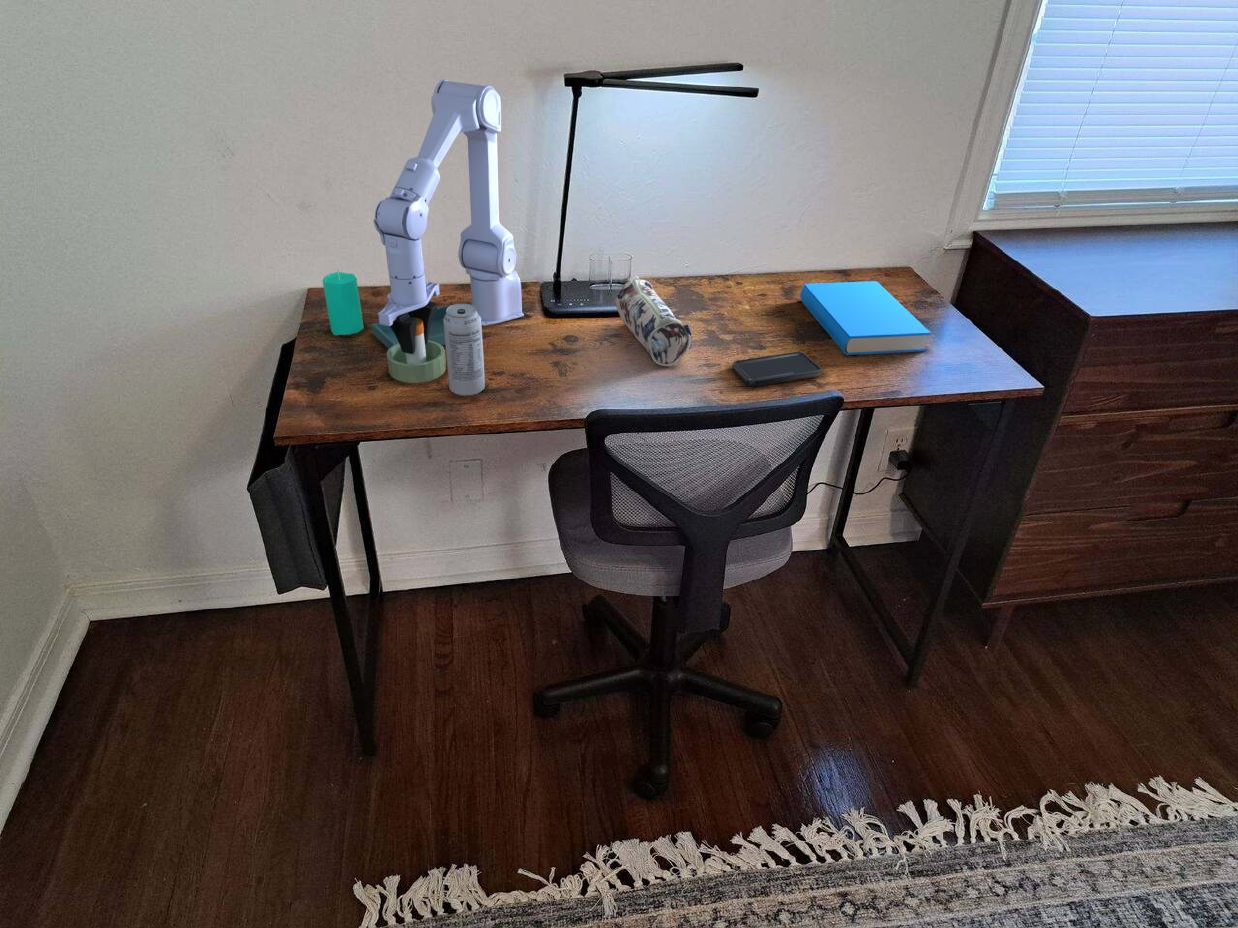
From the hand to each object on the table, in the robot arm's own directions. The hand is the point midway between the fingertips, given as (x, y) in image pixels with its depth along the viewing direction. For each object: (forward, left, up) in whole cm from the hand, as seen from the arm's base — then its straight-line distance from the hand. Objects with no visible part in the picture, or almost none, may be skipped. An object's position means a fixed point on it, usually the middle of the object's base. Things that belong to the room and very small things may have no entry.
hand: (415, 347), depth 145 cm
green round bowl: (0, 0, -5) cm, 5 cm away
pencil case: (-42, +13, -5) cm, 44 cm away
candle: (+4, -22, -5) cm, 23 cm away
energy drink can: (-4, +11, -5) cm, 13 cm away
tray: (-7, -11, -5) cm, 14 cm away
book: (-83, +30, -5) cm, 88 cm away
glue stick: (0, 0, -4) cm, 4 cm away
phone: (-54, +35, -5) cm, 65 cm away
